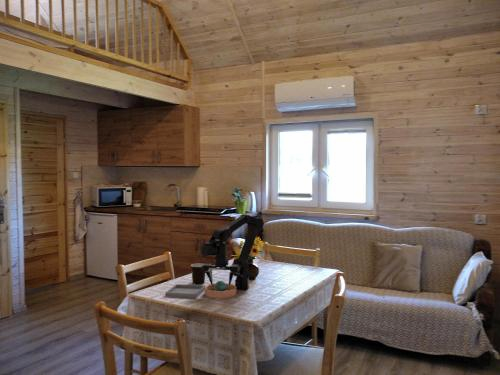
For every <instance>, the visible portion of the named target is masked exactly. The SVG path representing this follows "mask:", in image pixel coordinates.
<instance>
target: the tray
mask: <svg viewBox="0 0 500 375" xmlns="http://www.w3.org/2000/svg"><path fill="white" fill-rule="evenodd" d="M205 287H206V285H204V284H199V285H197V284H182V283H176V284H174V285H173V286H172V287H170V288H169V289H168V290H167V291H165V292H164V297H166V296H167V297H168V298H169V297H173V298H189V299H197V298H198V297H199V296H200V295H201V294H203V292H205ZM167 297H166V298H167Z"/></svg>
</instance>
